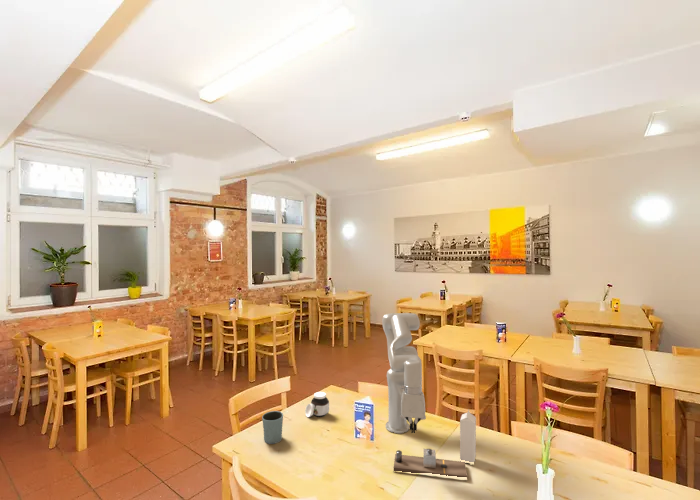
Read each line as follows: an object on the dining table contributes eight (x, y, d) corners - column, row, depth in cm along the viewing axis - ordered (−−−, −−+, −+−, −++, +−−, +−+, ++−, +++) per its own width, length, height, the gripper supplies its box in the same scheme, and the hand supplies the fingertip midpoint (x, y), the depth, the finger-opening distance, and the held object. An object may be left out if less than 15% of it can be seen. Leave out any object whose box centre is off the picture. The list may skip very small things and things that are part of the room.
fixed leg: (396, 459, 158) (396, 450, 158) (402, 459, 157) (402, 450, 157) (396, 462, 156) (396, 453, 155) (401, 463, 155) (401, 453, 155)
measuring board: (395, 458, 162) (395, 453, 162) (464, 466, 156) (464, 461, 156) (393, 472, 152) (393, 467, 152) (467, 481, 146) (467, 476, 146)
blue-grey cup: (285, 434, 182) (285, 411, 182) (279, 445, 172) (279, 420, 172) (266, 433, 183) (266, 410, 183) (259, 444, 173) (259, 419, 173)
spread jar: (331, 414, 205) (331, 393, 205) (319, 422, 196) (319, 401, 195) (314, 409, 211) (314, 389, 211) (302, 416, 202) (302, 396, 202)
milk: (460, 462, 159) (459, 412, 159) (462, 455, 164) (461, 407, 164) (474, 465, 156) (474, 415, 156) (476, 458, 162) (475, 409, 161)
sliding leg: (423, 459, 157) (423, 446, 157) (435, 461, 156) (435, 447, 156) (423, 466, 152) (423, 452, 152) (435, 468, 151) (435, 454, 151)
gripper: (395, 391, 153) (395, 434, 152) (430, 393, 150) (431, 437, 149) (396, 384, 160) (396, 426, 160) (430, 387, 157) (430, 429, 157)
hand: (413, 431), depth 155 cm, fingers closed
